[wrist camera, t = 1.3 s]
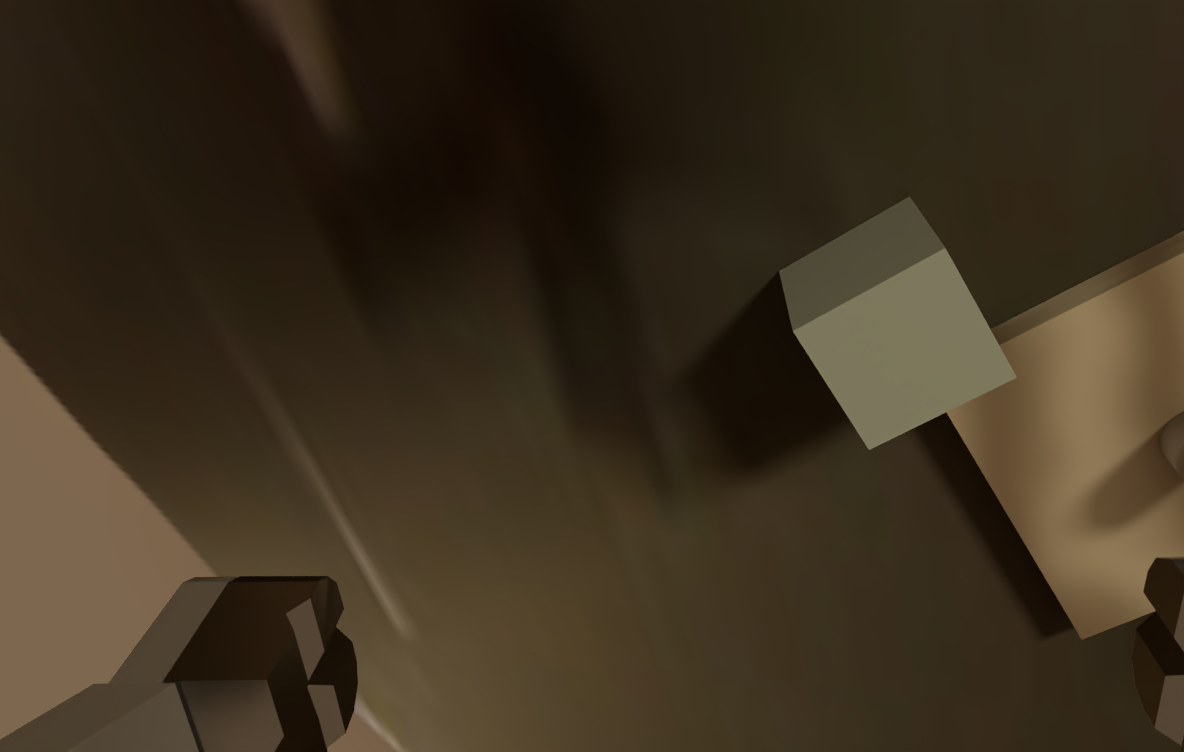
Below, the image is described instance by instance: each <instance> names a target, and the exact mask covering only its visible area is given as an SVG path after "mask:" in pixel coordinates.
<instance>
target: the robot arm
mask: <svg viewBox="0 0 1184 752" xmlns="http://www.w3.org/2000/svg"><path fill="white" fill-rule="evenodd" d="M1143 593H1144V594H1145V596H1146V597H1147V599H1148V600H1149V602H1150V603H1151V604H1152V606H1153V607H1154V609H1155V610H1156V611H1155V612H1154V613H1153V614H1152V615H1151V616H1150V617H1149V618H1147V619H1146V620H1145V621H1144V622H1143V623H1142V624H1141V625H1140V626H1139V627H1138V628H1137V629H1136V632H1135V638H1134V645H1133V652H1132V664H1133V672H1134V680H1135V687H1136V689H1137V692H1138V695H1139V698H1140V701H1141V704H1142V706H1143V708H1144V710H1145V712H1146V714H1147V715H1148V717H1149V719H1150V721H1151V723H1152V724H1153V726H1154V728H1155V729H1157V730H1158V731H1160V732H1161V733H1163V734H1165V735H1166V736H1168V737H1169V738H1171V739H1172V740H1174V741H1175V742H1177V743H1178V744H1180V745H1181V750H1180V752H1184V557H1157V558H1155V560H1154V562H1153V563H1152V565H1151V566H1150V568H1149V570H1148V572H1147V577H1146V581H1145V586H1144V591H1143ZM343 609H344V607H343V603H342V600H341V596H340V593H339V589H338V586H337V583H336V582H335V581H333V580H332V579H331V578H329V577H328V576H240V577H238V578H237V577H195V578H193V579H190V580H188V581H185V582H183V583H182V584H181V586H180V587H179V589H178V590H177V591H176V593H175V594H174V595H173V597H172V598H171V599H170V601H169V602H168V603H167V605H166V606H165V607H164V609H163V610H162V611H161V613H160V614H159V616H158V617H157V618H156V620H155V621H154V622H153V624H152V625H151V627H150V628H149V629H148V630H147V632H146V633H145V635H144V636H143V637H142V639H141V640H140V641H139V643H138V644H137V645H136V647H135V648H134V650H133V651H132V652H131V654H130V655H129V657H128V658H127V659H126V660H125V662H124V663H123V665H122V666H121V667H120V669H119V670H118V671H117V673H116V674H115V675H114V677H113V678H112V680H111V681H110V682H109V683H108V684H93V685H91V686H90V687H88V688H86V689H85V690H83V691H81V692H80V693H78V694H76V695H75V696H73V697H71V698H69V699H68V700H66V701H65V702H63V703H61V704H59V705H58V706H56V707H55V708H53V709H51V710H49V711H48V712H46V713H44V714H43V715H41V716H39V717H38V718H36V719H34V720H33V721H31V722H30V723H28V724H26V725H24V726H22V727H21V728H19V729H17V730H16V731H14V732H13V733H11V734H9V735H7V736H6V737H4V738H2V739H1V740H0V752H327V747H329V746H330V745H331V744H332V743H334V742H335V741H336V740H337V739H339V738H340V737H341V736H342V735H344V734H345V733H346V730H347V728H348V725H349V722H350V720H351V717H352V714H353V712H354V706H355V699H356V692H357V685H358V678H357V661H356V656H355V652H354V648H353V643H352V641H351V640H349V639H348V638H347V637H346V636H345V635H344V634H343V633H342V632H341V631H340V630H339V629H337V628H336V624H337V622H338V620H339V618H340V616H341V614H342V611H343Z"/></svg>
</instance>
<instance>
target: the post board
mask: <svg viewBox="0 0 1184 752" xmlns="http://www.w3.org/2000/svg"><path fill="white" fill-rule="evenodd" d="M990 330H991V331H992V333H993V335H994V337H995V339H996V340H997V342H998V344H999V346H1000V348H1001V350H1002V351H1003V353H1004V355H1005V357H1006V359H1007V360H1008V362H1009V364H1010V366H1011V368H1012V369H1013V371H1014V373H1015V375H1016V377H1017V378H1015V379H1013V380H1011V381H1009V382H1007V383H1005V384H1003V385H1001V386H999V387H997V388H995V389H993V390H991V391H989V392H987V393H984V394H982V395H980V396H978V397H976V398H974V399H972V400H970V401H968V402H966V403H964V404H962V405H960V406H958V407H956V408H954V409H952V410H950V411H948V412H947V414H948V416H949V418H950V419H951V421H952V423H953V424H954V426H955V428H956V429H957V431H958V433H959V434H960V436H961V438H962V439H963V441H964V443H965V444H966V446H967V448H968V449H969V451H970V453H971V454H972V456H973V458H974V459H975V461H976V463H977V465H978V466H979V468H980V470H981V471H982V473H983V475H984V476H985V478H986V480H987V481H988V483H989V485H990V486H991V488H992V490H993V491H994V493H995V495H996V496H997V498H998V500H999V501H1000V503H1001V505H1002V506H1003V508H1004V510H1005V512H1006V513H1007V515H1008V517H1009V518H1010V520H1011V522H1012V523H1013V525H1014V527H1015V528H1016V530H1017V532H1018V533H1019V535H1020V537H1021V538H1022V540H1023V542H1024V543H1025V545H1026V547H1027V548H1028V550H1029V552H1030V553H1031V555H1032V557H1033V559H1034V560H1035V562H1036V564H1037V565H1038V567H1039V569H1040V570H1041V572H1042V574H1043V575H1044V577H1045V579H1046V580H1047V582H1048V584H1049V585H1050V587H1051V589H1052V590H1053V592H1054V594H1055V595H1056V597H1057V599H1058V600H1059V602H1060V604H1061V606H1062V607H1063V609H1064V611H1065V612H1066V614H1067V616H1068V617H1069V619H1070V621H1071V622H1072V624H1073V626H1074V627H1075V629H1076V631H1077V632H1078V634H1079V636H1080V637H1081V639H1084V638H1087V637H1090V636H1092V635H1095V634H1097V633H1100V632H1102V631H1105V630H1108V629H1110V628H1113V627H1115V626H1118V625H1121V624H1123V623H1126V622H1128V621H1131V620H1133V619H1136V618H1139V617H1141V616H1144V615H1146V614H1149V613H1151V612H1154V611H1156V610H1155V609H1154V607H1153V606H1152V604H1151V603H1150V602H1149V600H1148V599H1147V597H1146V596H1145V594H1144V593H1143V591H1144V586H1145V581H1146V577H1147V572H1148V570H1149V568H1150V566H1151V565H1152V563H1153V562H1154V560H1155V558H1157V557H1184V231H1182V232H1180V233H1178V234H1176V235H1174V236H1172V237H1170V238H1168V239H1166V240H1164V241H1162V242H1160V243H1159V244H1157V245H1155V246H1153V247H1151V248H1149V249H1147V250H1145V251H1143V252H1141V253H1139V254H1137V255H1135V256H1133V257H1131V258H1129V259H1127V260H1125V261H1123V262H1121V263H1119V264H1117V265H1115V266H1113V267H1111V268H1109V269H1108V270H1106V271H1104V272H1102V273H1100V274H1098V275H1096V276H1094V277H1092V278H1090V279H1088V280H1086V281H1084V282H1082V283H1080V284H1078V285H1076V286H1074V287H1072V288H1070V289H1068V290H1066V291H1064V292H1062V293H1060V294H1058V295H1057V296H1055V297H1053V298H1051V299H1049V300H1047V301H1045V302H1043V303H1041V304H1039V305H1037V306H1035V307H1033V308H1031V309H1029V310H1027V311H1025V312H1023V313H1021V314H1019V315H1017V316H1015V317H1013V318H1011V319H1009V320H1008V321H1006V322H1004V323H1002V324H1000V325H998V326H996V327H994V328H992V329H990Z"/></svg>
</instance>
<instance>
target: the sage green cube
mask: <svg viewBox="0 0 1184 752" xmlns="http://www.w3.org/2000/svg"><path fill="white" fill-rule="evenodd" d="M779 273H780V277H781V282H782V286H783V290H784V295H785V299H786V303H787V308H788V312H789V317H790V321H791V325H792V330H793V332H794V334H795V335H796V337H797V338H798V340H799V342H800V343H801V345H802V346H803V348H804V349H805V351H806V352H807V354H808V356H809V357H810V359H811V360H812V362H813V363H814V365H815V366H816V368H817V370H818V371H819V373H820V374H821V376H822V377H823V379H824V380H825V382H826V384H827V385H828V387H829V388H830V390H831V391H832V393H833V394H834V396H835V398H836V399H837V401H838V402H839V404H840V405H841V407H842V409H843V410H844V412H845V413H846V415H847V416H848V418H849V419H850V421H851V423H852V424H853V426H854V427H855V429H856V430H857V432H858V433H859V435H860V437H861V438H862V440H863V441H864V443H865V444H866V446H867V447H868V449H869V450H870V449H872V448H874V447H876V446H878V445H880V444H882V443H884V442H886V441H888V440H890V439H892V438H894V437H896V436H898V435H901V434H903V433H905V432H907V431H909V430H911V429H913V428H915V427H917V426H919V425H921V424H923V423H925V422H927V421H929V420H931V419H933V418H935V417H937V416H939V415H941V414H944V413H946V412H948V411H950V410H952V409H954V408H956V407H958V406H960V405H962V404H964V403H966V402H968V401H970V400H972V399H974V398H976V397H978V396H980V395H982V394H984V393H987V392H989V391H991V390H993V389H995V388H997V387H999V386H1001V385H1003V384H1005V383H1007V382H1009V381H1011V380H1013V379H1015V378H1017V377H1016V375H1015V373H1014V371H1013V369H1012V368H1011V366H1010V364H1009V362H1008V360H1007V359H1006V357H1005V355H1004V353H1003V351H1002V350H1001V348H1000V346H999V344H998V342H997V340H996V339H995V337H994V335H993V333H992V331H991V330H990V328H989V326H988V324H987V322H986V321H985V319H984V317H983V315H982V313H981V312H980V310H979V308H978V306H977V304H976V303H975V301H974V299H973V297H972V295H971V294H970V292H969V290H968V288H967V286H966V285H965V283H964V281H963V279H962V277H961V276H960V274H959V272H958V270H957V268H956V267H955V265H954V263H953V261H952V259H951V258H950V256H949V254H948V252H947V250H946V249H945V247H944V246H943V244H942V243H941V241H940V240H939V238H938V237H937V235H936V234H935V233H934V231H933V230H932V228H931V227H930V225H929V224H928V223H927V221H926V220H925V218H924V217H923V215H922V214H921V212H920V211H919V210H918V208H917V207H916V205H915V204H914V202H913V201H912V200H911V198H910V197H908V198H906V199H904V200H903V201H901V202H899V203H897V204H896V205H894V206H892V207H890V208H889V209H887V210H885V211H883V212H882V213H880V214H878V215H876V216H875V217H873V218H871V219H869V220H868V221H866V222H864V223H862V224H861V225H859V226H857V227H855V228H854V229H852V230H850V231H848V232H847V233H845V234H843V235H841V236H840V237H838V238H836V239H834V240H833V241H831V242H829V243H827V244H826V245H824V246H822V247H820V248H819V249H817V250H815V251H813V252H812V253H810V254H808V255H806V256H805V257H803V258H801V259H799V260H798V261H796V262H794V263H793V264H791V265H789V266H787V267H786V268H784V269H782V270H780V271H779Z"/></svg>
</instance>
